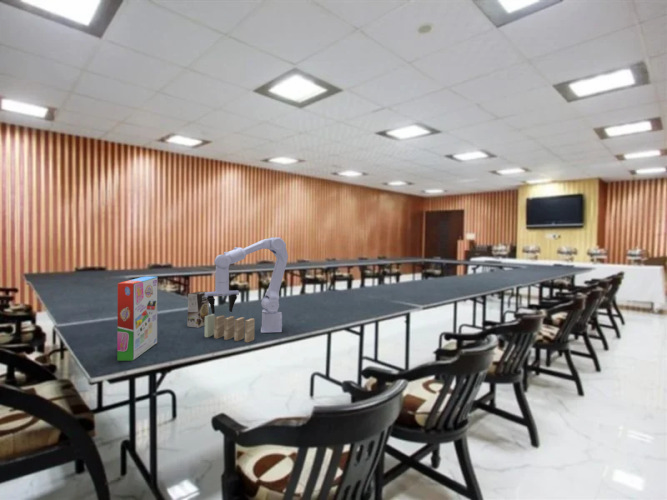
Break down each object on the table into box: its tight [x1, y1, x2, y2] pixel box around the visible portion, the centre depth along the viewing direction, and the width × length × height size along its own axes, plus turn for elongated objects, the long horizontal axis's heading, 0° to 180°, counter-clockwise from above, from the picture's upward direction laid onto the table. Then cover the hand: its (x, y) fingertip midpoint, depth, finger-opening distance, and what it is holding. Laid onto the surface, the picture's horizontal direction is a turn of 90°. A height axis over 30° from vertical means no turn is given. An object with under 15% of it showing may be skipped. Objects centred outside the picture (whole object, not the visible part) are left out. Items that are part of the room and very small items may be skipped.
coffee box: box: [186, 291, 210, 329], centre depth 175 cm, size 9×6×16 cm
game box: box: [116, 275, 158, 362], centre depth 133 cm, size 21×6×27 cm, turn 5°
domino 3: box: [223, 315, 235, 341], centre depth 154 cm, size 2×5×9 cm, turn 162°
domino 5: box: [244, 317, 256, 343], centre depth 151 cm, size 2×5×9 cm, turn 162°
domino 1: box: [204, 313, 216, 338], centre depth 157 cm, size 2×5×9 cm, turn 162°
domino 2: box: [213, 314, 226, 339], centre depth 155 cm, size 2×5×9 cm, turn 162°
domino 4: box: [233, 316, 245, 342], centre depth 152 cm, size 2×5×9 cm, turn 162°
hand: (221, 312), depth 158 cm, fingers open, 7 cm apart
